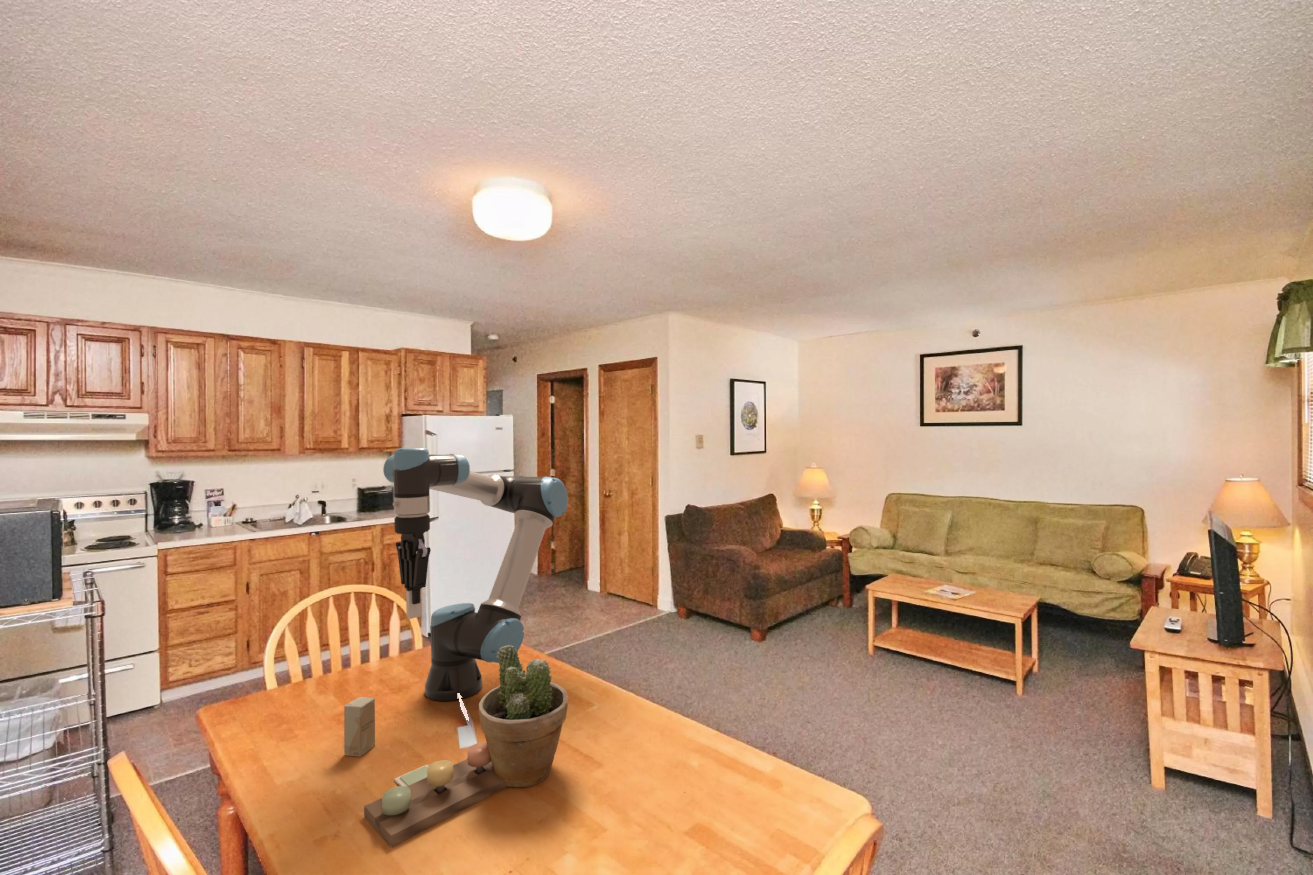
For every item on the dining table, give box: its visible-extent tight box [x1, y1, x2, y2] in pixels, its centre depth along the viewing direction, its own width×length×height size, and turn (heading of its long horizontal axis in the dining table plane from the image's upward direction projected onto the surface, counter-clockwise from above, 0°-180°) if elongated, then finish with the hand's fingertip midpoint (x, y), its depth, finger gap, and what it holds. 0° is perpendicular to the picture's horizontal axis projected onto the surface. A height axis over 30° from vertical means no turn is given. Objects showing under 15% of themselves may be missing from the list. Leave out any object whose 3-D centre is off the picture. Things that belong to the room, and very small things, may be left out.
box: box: [343, 696, 376, 757], centre depth 132 cm, size 5×4×11 cm
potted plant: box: [478, 645, 569, 788], centre depth 122 cm, size 18×19×25 cm
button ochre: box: [427, 759, 454, 792], centre depth 114 cm, size 5×5×5 cm
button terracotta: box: [466, 742, 491, 773], centre depth 120 cm, size 5×5×5 cm
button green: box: [381, 785, 411, 816], centre depth 108 cm, size 5×5×5 cm
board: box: [363, 758, 508, 848], centre depth 114 cm, size 24×12×2 cm, turn 137°
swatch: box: [394, 763, 430, 787], centre depth 120 cm, size 7×7×1 cm
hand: (413, 616), depth 134 cm, fingers closed
